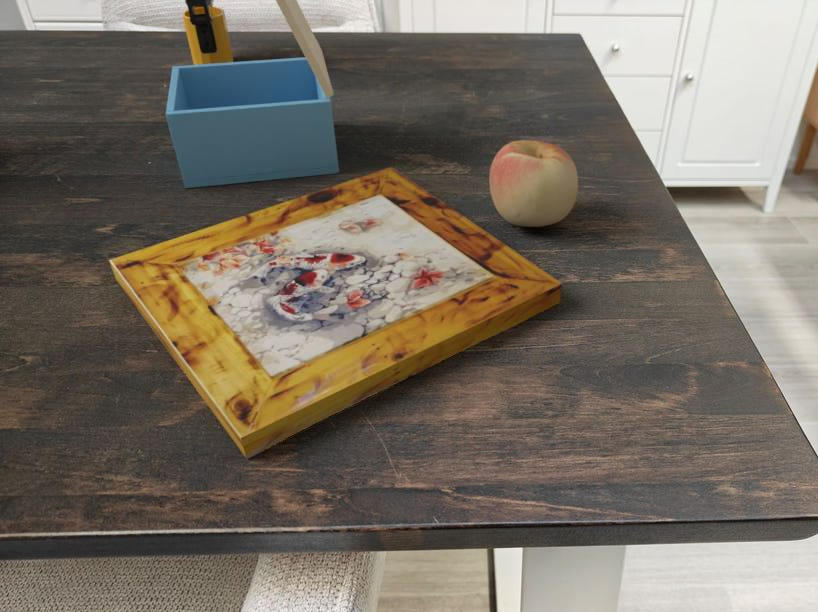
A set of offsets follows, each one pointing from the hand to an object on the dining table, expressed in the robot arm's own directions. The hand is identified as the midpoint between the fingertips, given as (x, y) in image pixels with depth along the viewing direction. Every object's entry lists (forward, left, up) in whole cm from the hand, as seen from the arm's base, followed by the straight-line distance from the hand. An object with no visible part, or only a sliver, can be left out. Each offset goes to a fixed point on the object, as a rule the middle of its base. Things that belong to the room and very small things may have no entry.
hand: (209, 42), depth 106 cm
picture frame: (+45, -41, -3) cm, 61 cm away
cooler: (+23, -21, -3) cm, 31 cm away
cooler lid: (+27, -18, +14) cm, 35 cm away
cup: (0, 0, -3) cm, 3 cm away
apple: (+57, -22, -3) cm, 61 cm away
